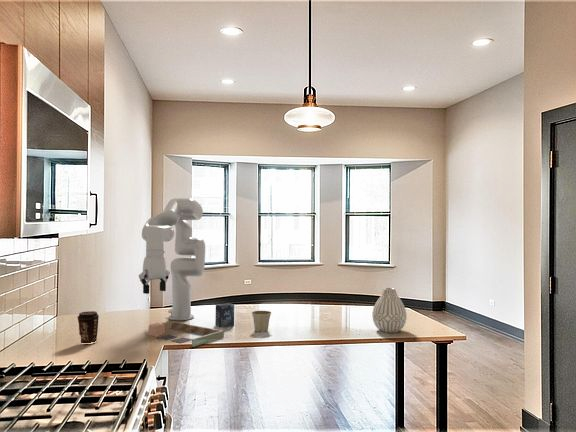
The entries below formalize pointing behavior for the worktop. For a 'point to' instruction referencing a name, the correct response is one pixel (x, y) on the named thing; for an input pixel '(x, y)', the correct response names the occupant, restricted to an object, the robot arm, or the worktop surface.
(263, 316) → the flower pot
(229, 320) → the box
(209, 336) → the shallow rectangular tray
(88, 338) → the coffee cup
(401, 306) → the vase
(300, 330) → the worktop surface
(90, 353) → the worktop surface
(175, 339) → the mats
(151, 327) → the block
